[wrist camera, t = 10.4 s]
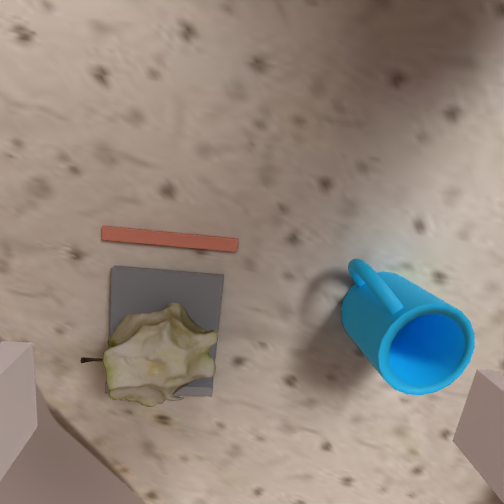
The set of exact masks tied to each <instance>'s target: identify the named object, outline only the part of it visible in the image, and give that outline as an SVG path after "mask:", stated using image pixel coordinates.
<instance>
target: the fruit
mask: <svg viewBox="0 0 504 504" xmlns="http://www.w3.org/2000/svg"><path fill="white" fill-rule="evenodd" d="M217 339H218V334H217V332H216V331H214V330H213V329H212V330H210V331H209V332H208V331H207V330H206V329H204V328H202V327H200V326H199V325H197V324H196V323H195V322H194V321H193V320H192V319H191V318H190V316H189V315H188V313H187V312H186V310H185V309H184V308H183V307H182V306H181V305H180V304H179V303H174V302H172V303H169V304H168V305H167V307H166V308H165V309H164V310H162V311H155V312H150V313H138V314H135V313H130V314H128V315H126V317H125V318H124V319H123V320H122V322H121V323H120V324H119V326H118V327H117V328H116V330H115V331H114V333H113V334H112V336H111V337H110V338H109V340H108V344H109V347H108V349H107V350H106V351H105V352H104V356H103V359H97V358H84V357H83V358H81V363H85V362H90V361H103V363H104V366H105V368H106V378H107V387H108V390H109V396H110V398H112V399H114V400H117V399H119V400H124V399H125V400H128V401H136V402H139V403H141V404H142V405H145V406H147V407H152V406H154V405H156V404H162V403H163V402H164V401H165V400H171V401H175V400H181V399H183V397H176V396H174V395H173V394H175V393H176V392H177V391H179V390H180V389H181V388H183V387H184V386H186V385H188V384H189V383H191V382H193V381H194V380H196V379H200V378H210V377H214V375H215V370H216V365H215V361H214V359H213V358H212V357H211V356H210V355H209V351H210V349H211V348H212V346H213V345H214V344H216V342H217Z"/></svg>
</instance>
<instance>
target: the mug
mask: <svg viewBox="0 0 504 504" xmlns="http://www.w3.org/2000/svg"><path fill="white" fill-rule="evenodd" d="M348 271H349V273H350V275H351V277H352V279H353V280H354V282H355V284H354V285H353V286H352V287H351V288H350V289H349V291H348V293H347V295H346V296H345V298H344V300H343V304H342V309H341V318H342V324H343V326H344V328H345V330H346V332H347V333H348V335H349V336H350V337H351V338H352V340H353V341H354V342H355V343H356V345H357V346H358V347H359V348H360V350H361V351H362V352H363V353H364V355H365V356H366V357H367V358H368V360H369V361H370V362H371V363H372V365H373V366H374V367H375V368H376V370H377V371H378V372H379V373H380V375H381V376H382V377H383V378H384V380H385V381H386V382H387V383H388V384H390V385H391V386H392V387H393V388H394V389H395V390H398V391H400V392H403V393H405V394H412V395H424V394H428V393H433V392H436V391H438V390H440V389H442V388H444V387H446V386H448V385H450V384H451V383H452V382H453V381H454V380H455V379H457V378H458V377H459V376H460V375H461V374H462V372H463V371H464V369H465V368H466V366H467V365H468V364H469V362H470V359H471V356H472V353H473V350H474V331H473V328H472V325H471V323H470V321H469V320H468V318H467V317H466V316H465V315H464V314H463V313H462V312H461V311H460V310H458V309H456V308H455V307H453V306H451V305H450V304H448V303H446V302H444V301H443V300H441V299H439V298H438V297H436V296H434V295H433V294H431V293H429V292H427V291H426V290H424V289H422V288H421V287H419V286H417V285H415V284H414V283H412V282H410V281H409V280H407V279H405V278H403V277H401V276H399V275H397V274H395V273H389V272H378V273H376V272H375V271H374V270H373V269H372V268H371V267H370V266H369V265H368V264H366V263H365V262H364V261H362V260H360V259H353V260H351V261H350V263H349V265H348Z"/></svg>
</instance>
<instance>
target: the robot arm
mask: <svg viewBox="0 0 504 504" xmlns="http://www.w3.org/2000/svg"><path fill="white" fill-rule="evenodd" d="M37 427H38V425H37V407H36V388H35V370H34V351H33V343H28V342H12V341H2V342H1V343H0V481H1V479H2V478H3V477H4V475H5V474H6V472H7V471H8V469H9V468H10V466H11V465H12V464H13V462H14V461H15V459H16V458H17V456H18V455H19V453H20V452H21V450H22V449H23V447H24V446H25V445H26V443H27V441H28V440H29V439H30V437H31V436H32V434H33V433H34V431H35V430H36V428H37ZM453 442H454V443H455V444H456V445H457V447H458V448H459V449H460V450H461V452H462V453H463V454H464V455H465V456H466V458H467V459H468V460H469V461H470V463H471V464H472V465H473V466H474V468H475V469H476V470H477V471H478V472H479V474H480V475H481V476H482V477H483V479H484V480H485V481H486V482H487V484H488V485H489V486H490V487H491V488H492V490H493V491H494V492H495V493H496V495H497V496H498V497H499V498H500V500H501V501H502V502H503V503H504V374H503V373H501V372H500V371H494V370H477V371H476V374H475V377H474V380H473V383H472V386H471V389H470V391H469V394H468V397H467V400H466V403H465V406H464V409H463V412H462V415H461V418H460V421H459V424H458V426H457V429H456V432H455V435H454V438H453Z"/></svg>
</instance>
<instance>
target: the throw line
mask: <svg viewBox="0 0 504 504" xmlns="http://www.w3.org/2000/svg"><path fill="white" fill-rule="evenodd" d="M102 240H110V241H121V242H132V243H143V244H154V245H165V246H176V247H187V248H198V249H209V250H220V251H231V252H237V249H238V240H239V239H235V238H225V237H215V236H204V235H194V234H183V233H173V232H163V231H152V230H142V229H131V228H121V227H111V226H102Z"/></svg>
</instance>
